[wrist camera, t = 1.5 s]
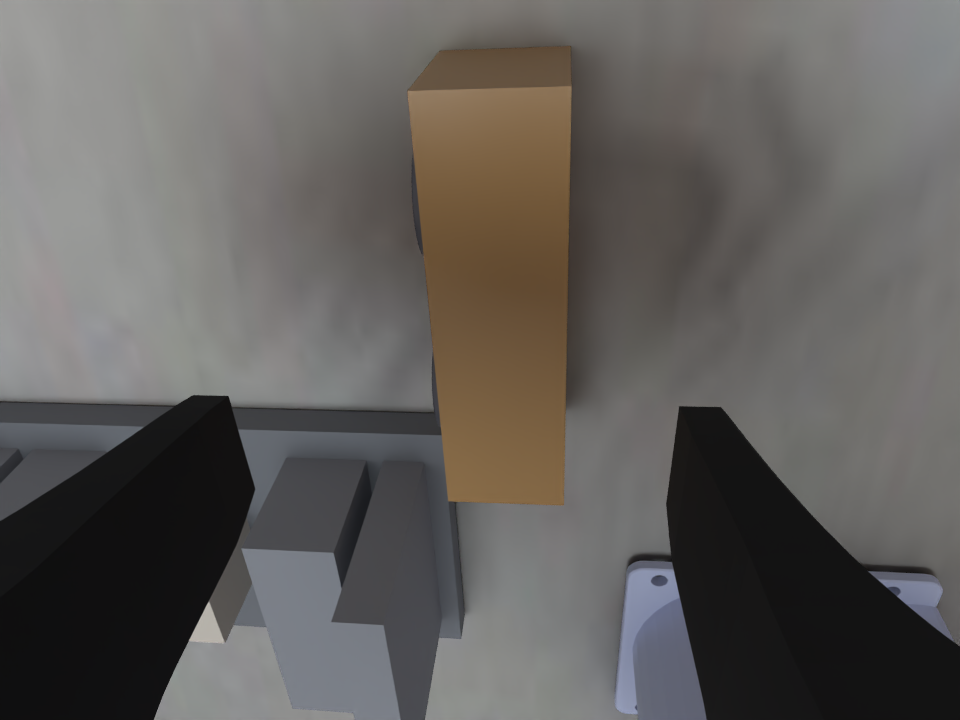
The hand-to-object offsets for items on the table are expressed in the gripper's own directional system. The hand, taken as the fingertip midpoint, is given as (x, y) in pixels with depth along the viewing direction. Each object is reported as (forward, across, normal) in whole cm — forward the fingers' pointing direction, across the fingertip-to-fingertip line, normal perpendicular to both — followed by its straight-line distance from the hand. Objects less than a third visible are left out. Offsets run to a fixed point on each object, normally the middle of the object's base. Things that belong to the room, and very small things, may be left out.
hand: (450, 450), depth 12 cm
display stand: (+8, +9, +10) cm, 15 cm away
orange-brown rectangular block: (+8, 0, 0) cm, 8 cm away
